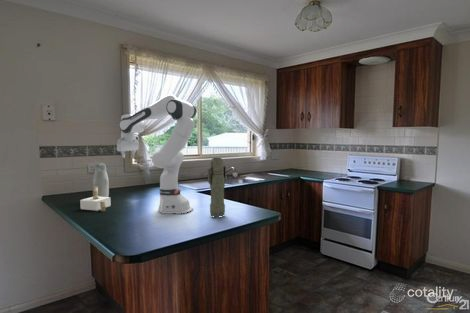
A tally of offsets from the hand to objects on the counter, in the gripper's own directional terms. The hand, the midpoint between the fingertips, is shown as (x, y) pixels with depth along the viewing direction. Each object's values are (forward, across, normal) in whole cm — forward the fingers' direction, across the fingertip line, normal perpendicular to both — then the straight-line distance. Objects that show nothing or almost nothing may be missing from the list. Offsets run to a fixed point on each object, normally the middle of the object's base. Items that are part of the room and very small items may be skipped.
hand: (128, 157), depth 205 cm
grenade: (+33, -13, -71) cm, 80 cm away
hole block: (+33, -16, +15) cm, 40 cm away
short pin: (+33, -22, +4) cm, 40 cm away
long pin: (+33, -16, +15) cm, 40 cm away
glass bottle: (+33, +2, +26) cm, 42 cm away
